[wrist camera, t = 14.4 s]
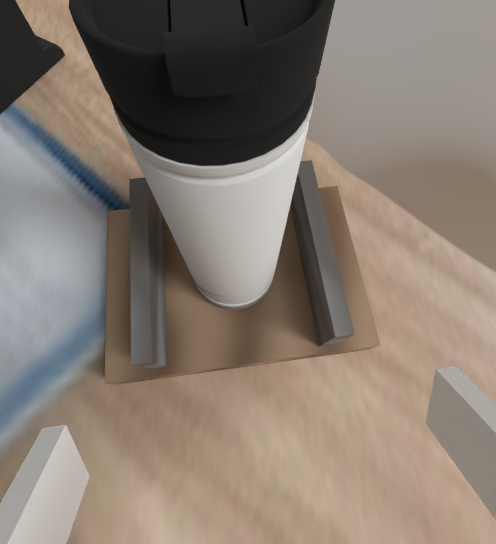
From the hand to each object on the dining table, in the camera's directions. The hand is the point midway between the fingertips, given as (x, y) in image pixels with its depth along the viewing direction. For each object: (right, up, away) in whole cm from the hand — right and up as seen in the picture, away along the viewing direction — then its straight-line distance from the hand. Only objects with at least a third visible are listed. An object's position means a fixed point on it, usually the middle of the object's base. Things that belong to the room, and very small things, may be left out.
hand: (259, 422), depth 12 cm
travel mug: (-1, +5, +14) cm, 15 cm away
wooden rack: (-2, +4, +16) cm, 17 cm away
